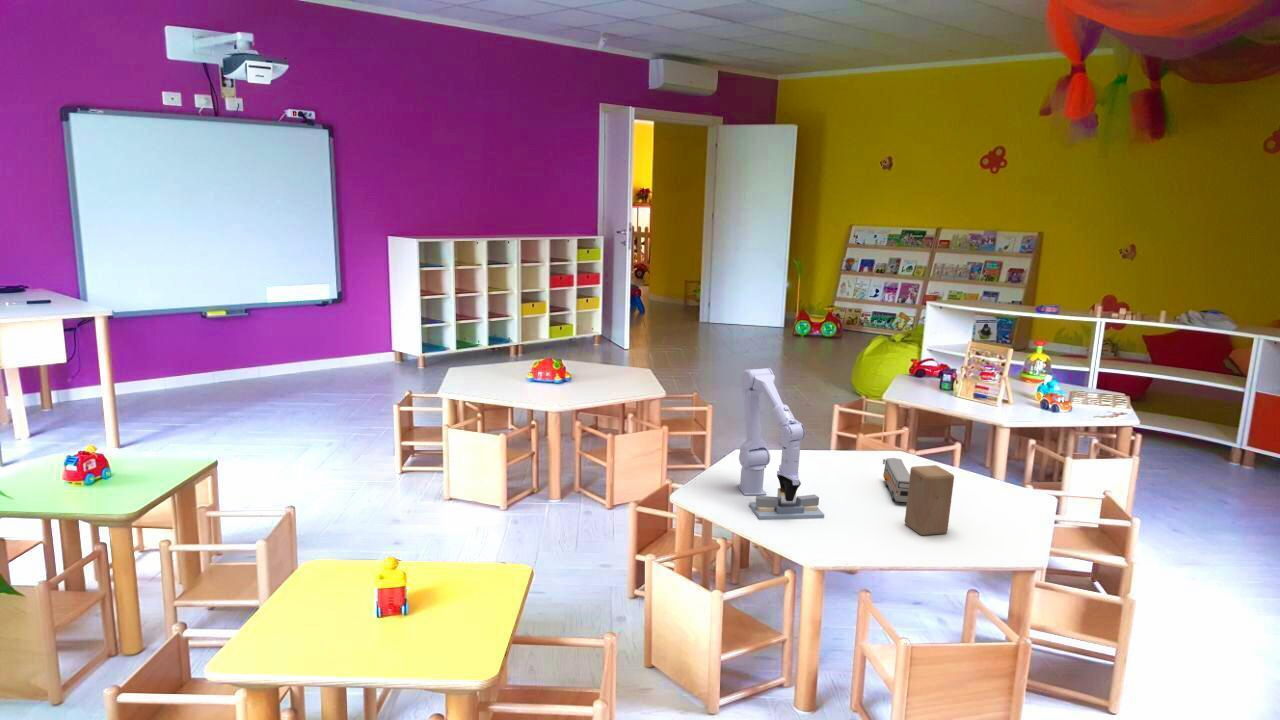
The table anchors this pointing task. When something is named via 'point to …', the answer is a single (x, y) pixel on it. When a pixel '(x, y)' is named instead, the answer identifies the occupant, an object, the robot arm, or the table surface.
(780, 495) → the tan and white block
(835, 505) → the table surface
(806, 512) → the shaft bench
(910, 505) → the wooden block
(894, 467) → the toy bus
